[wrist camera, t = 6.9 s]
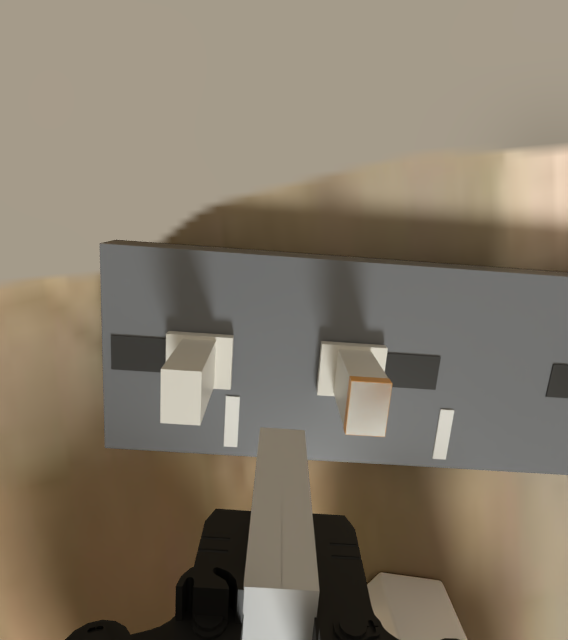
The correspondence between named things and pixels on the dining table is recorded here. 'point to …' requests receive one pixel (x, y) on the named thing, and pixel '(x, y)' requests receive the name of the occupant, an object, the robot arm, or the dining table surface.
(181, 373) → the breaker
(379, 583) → the jar
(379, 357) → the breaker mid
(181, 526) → the dining table surface
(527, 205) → the dining table surface
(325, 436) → the panel
